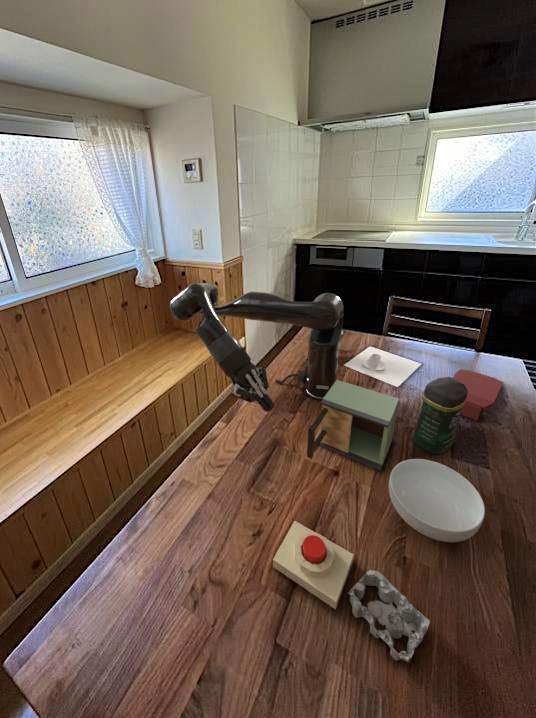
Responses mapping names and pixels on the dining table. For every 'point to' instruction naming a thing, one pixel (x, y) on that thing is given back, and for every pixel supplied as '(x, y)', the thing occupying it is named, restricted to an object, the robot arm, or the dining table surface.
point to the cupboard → (364, 421)
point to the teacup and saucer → (383, 366)
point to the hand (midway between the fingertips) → (270, 409)
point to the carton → (478, 392)
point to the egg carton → (389, 614)
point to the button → (314, 549)
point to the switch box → (314, 565)
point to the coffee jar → (440, 414)
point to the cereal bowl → (436, 500)
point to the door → (330, 430)
